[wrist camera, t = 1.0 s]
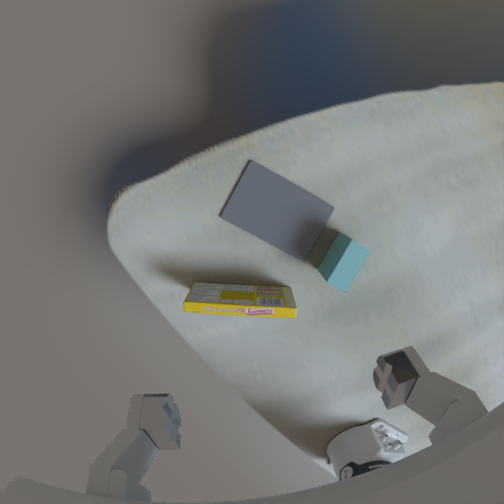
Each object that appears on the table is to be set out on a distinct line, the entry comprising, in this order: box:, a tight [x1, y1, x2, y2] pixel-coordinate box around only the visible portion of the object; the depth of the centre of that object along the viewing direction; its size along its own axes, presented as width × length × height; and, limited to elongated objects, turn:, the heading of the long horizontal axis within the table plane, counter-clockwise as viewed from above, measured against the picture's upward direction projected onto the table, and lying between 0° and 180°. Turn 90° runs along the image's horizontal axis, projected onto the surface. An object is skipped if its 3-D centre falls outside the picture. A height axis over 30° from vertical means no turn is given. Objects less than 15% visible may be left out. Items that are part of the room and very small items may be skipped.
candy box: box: [183, 282, 297, 318], centre depth 46 cm, size 16×2×8 cm, turn 87°
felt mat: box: [221, 161, 334, 262], centre depth 46 cm, size 15×10×1 cm, turn 62°
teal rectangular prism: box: [318, 232, 371, 292], centre depth 45 cm, size 4×7×7 cm, turn 151°
